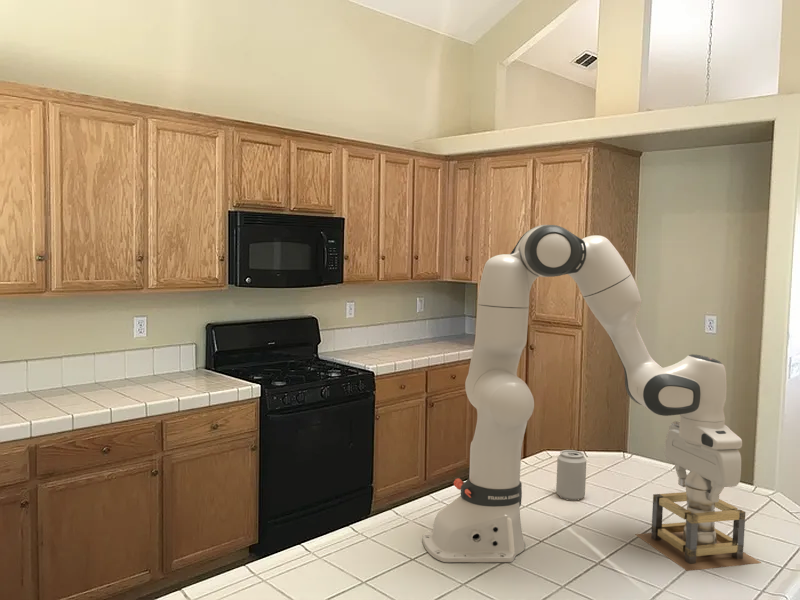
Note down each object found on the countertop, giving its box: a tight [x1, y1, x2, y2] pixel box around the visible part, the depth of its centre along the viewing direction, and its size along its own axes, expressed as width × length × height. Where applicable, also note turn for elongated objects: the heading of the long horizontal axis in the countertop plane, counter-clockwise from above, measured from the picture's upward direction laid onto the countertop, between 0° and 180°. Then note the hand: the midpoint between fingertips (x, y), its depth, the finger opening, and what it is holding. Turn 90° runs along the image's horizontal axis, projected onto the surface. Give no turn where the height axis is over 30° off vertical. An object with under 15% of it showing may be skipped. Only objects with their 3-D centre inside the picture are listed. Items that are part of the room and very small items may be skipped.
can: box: [555, 449, 587, 501], centre depth 178 cm, size 8×8×12 cm
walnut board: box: [634, 532, 762, 572], centre depth 145 cm, size 18×18×1 cm
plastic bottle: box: [683, 471, 717, 546], centre depth 144 cm, size 6×7×20 cm
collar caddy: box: [650, 491, 746, 564], centre depth 145 cm, size 13×13×10 cm
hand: (697, 493), depth 144 cm, fingers open, 8 cm apart
